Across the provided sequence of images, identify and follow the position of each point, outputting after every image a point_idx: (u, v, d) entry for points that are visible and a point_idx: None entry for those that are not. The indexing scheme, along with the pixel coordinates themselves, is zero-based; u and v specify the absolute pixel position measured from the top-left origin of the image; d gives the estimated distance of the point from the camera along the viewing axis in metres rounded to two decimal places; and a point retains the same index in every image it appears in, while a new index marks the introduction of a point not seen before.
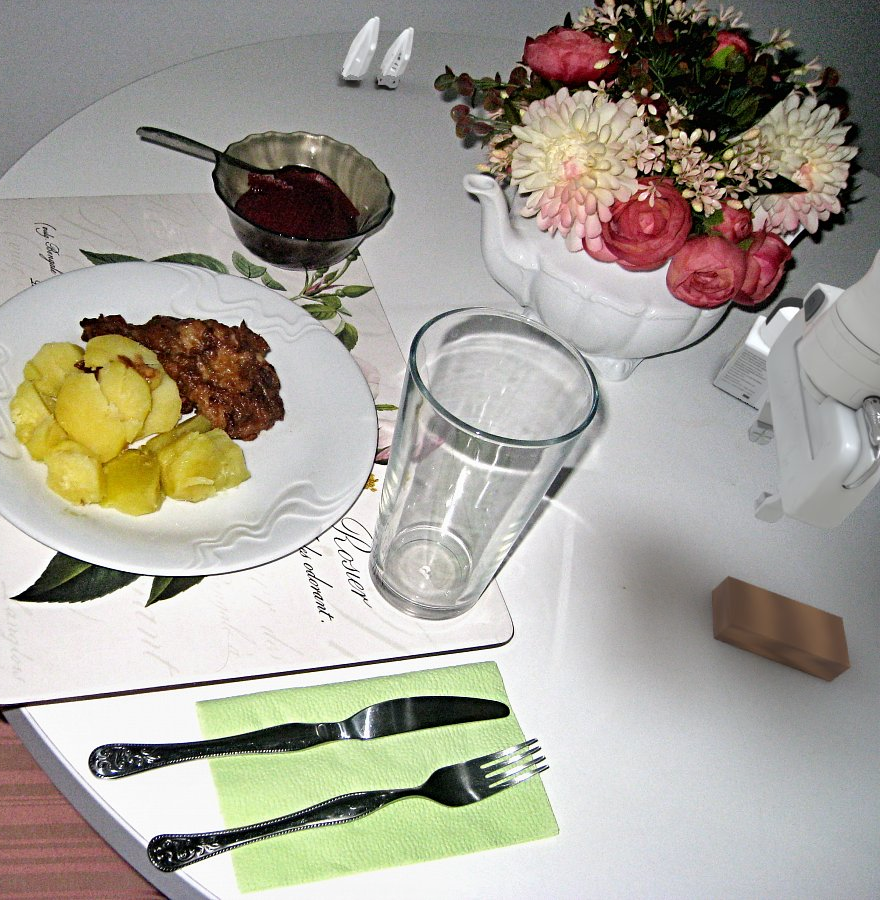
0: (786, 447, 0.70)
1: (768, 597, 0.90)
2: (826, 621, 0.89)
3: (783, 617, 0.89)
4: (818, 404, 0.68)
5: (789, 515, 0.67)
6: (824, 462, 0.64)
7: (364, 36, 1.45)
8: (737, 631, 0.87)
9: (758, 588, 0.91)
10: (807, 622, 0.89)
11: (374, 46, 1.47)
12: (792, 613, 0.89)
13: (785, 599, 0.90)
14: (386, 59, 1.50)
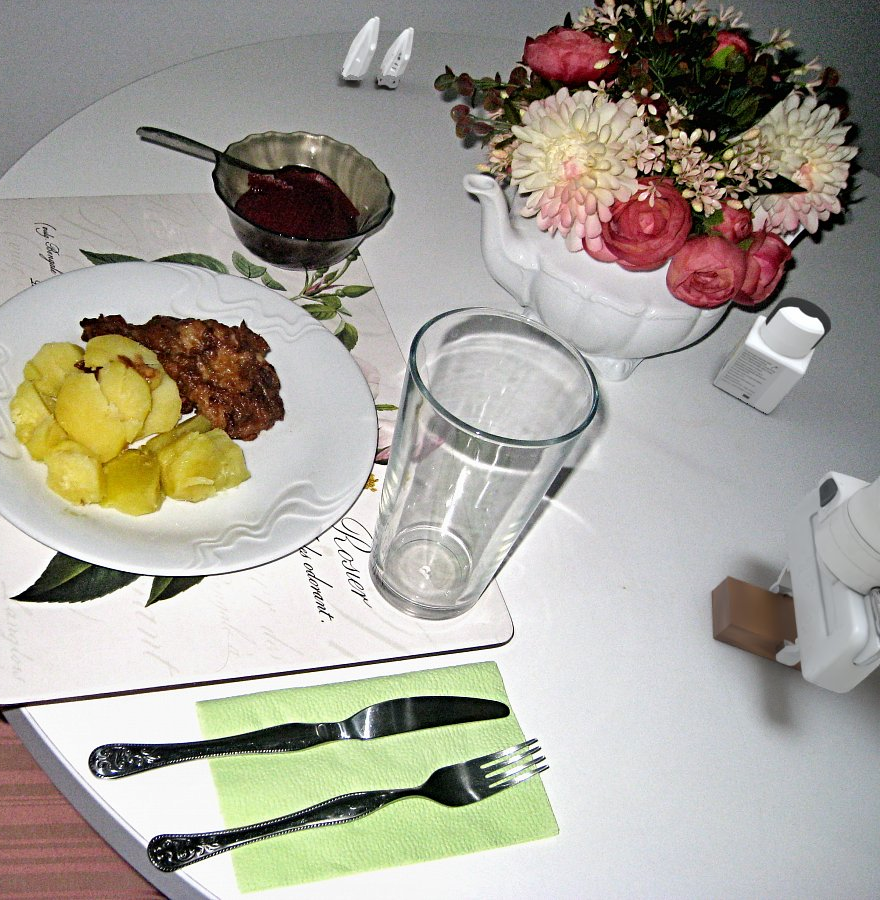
0: (804, 616, 0.83)
1: (768, 597, 0.90)
2: None
3: (782, 617, 0.89)
4: (832, 584, 0.80)
5: (807, 680, 0.79)
6: (838, 642, 0.76)
7: (364, 36, 1.45)
8: (736, 631, 0.87)
9: (758, 588, 0.91)
10: None
11: (374, 46, 1.47)
12: (792, 613, 0.89)
13: (784, 600, 0.90)
14: (386, 59, 1.50)
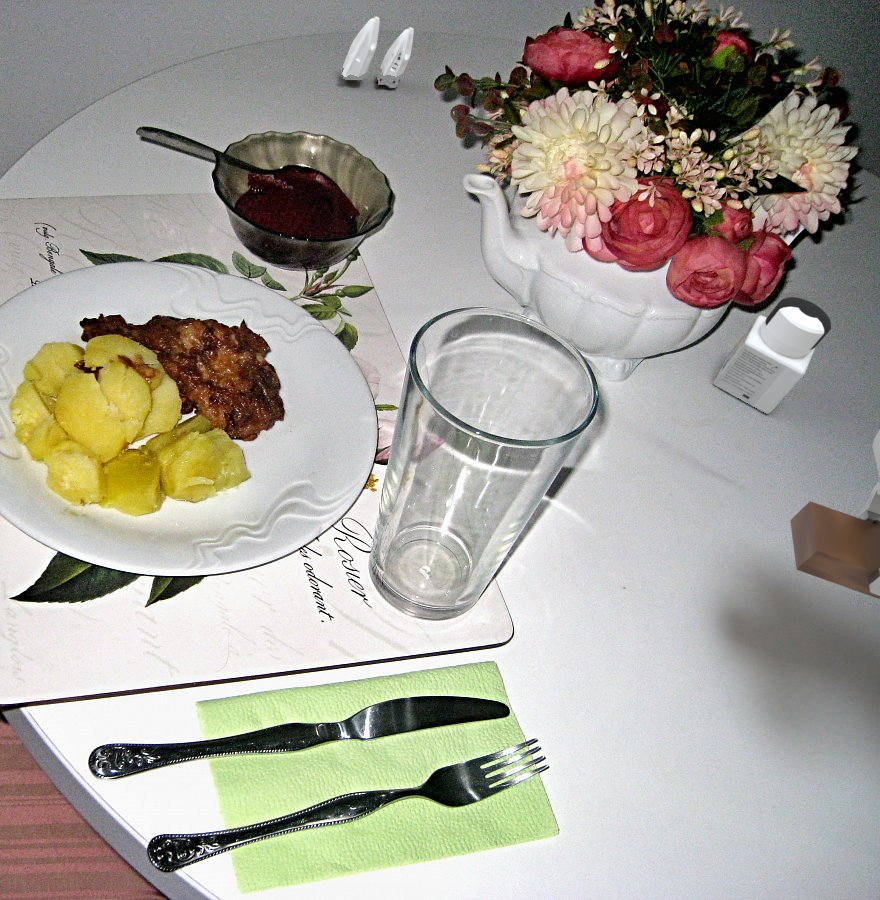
0: None
1: (856, 524, 0.80)
2: None
3: (874, 545, 0.79)
4: None
5: None
6: None
7: (364, 36, 1.45)
8: (823, 560, 0.78)
9: (844, 514, 0.81)
10: None
11: (374, 46, 1.47)
12: None
13: (874, 527, 0.81)
14: (386, 59, 1.50)
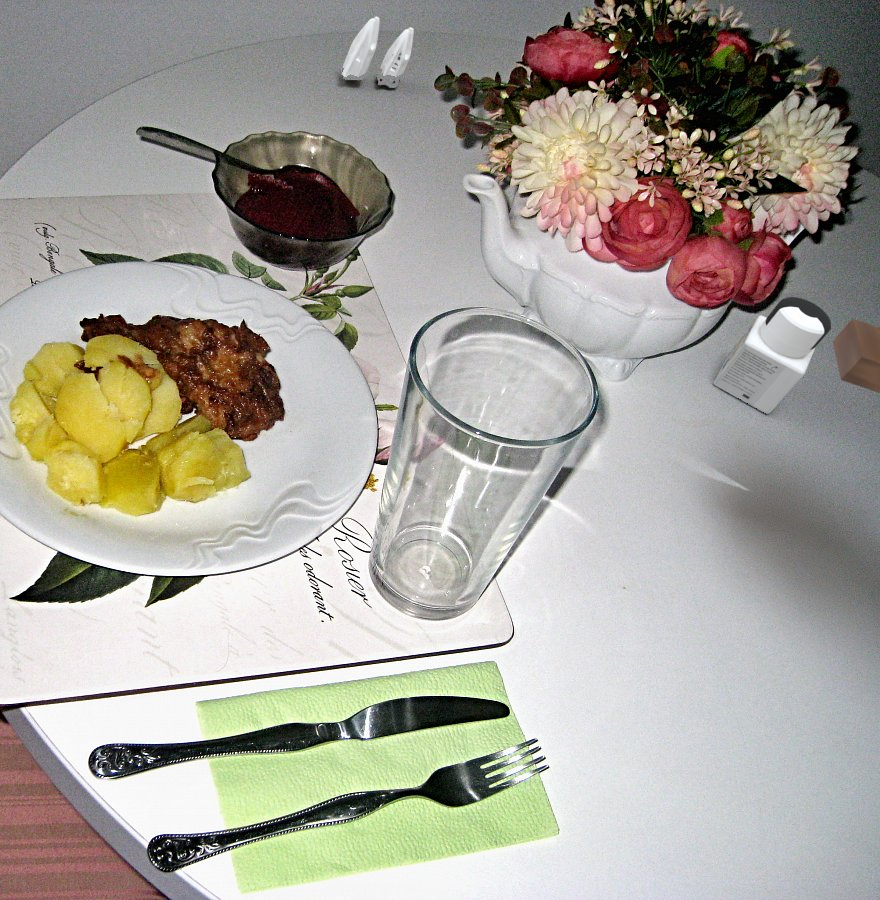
0: None
1: None
2: None
3: None
4: None
5: None
6: None
7: (364, 36, 1.45)
8: (868, 366, 0.82)
9: None
10: None
11: (374, 46, 1.47)
12: None
13: None
14: (386, 59, 1.50)
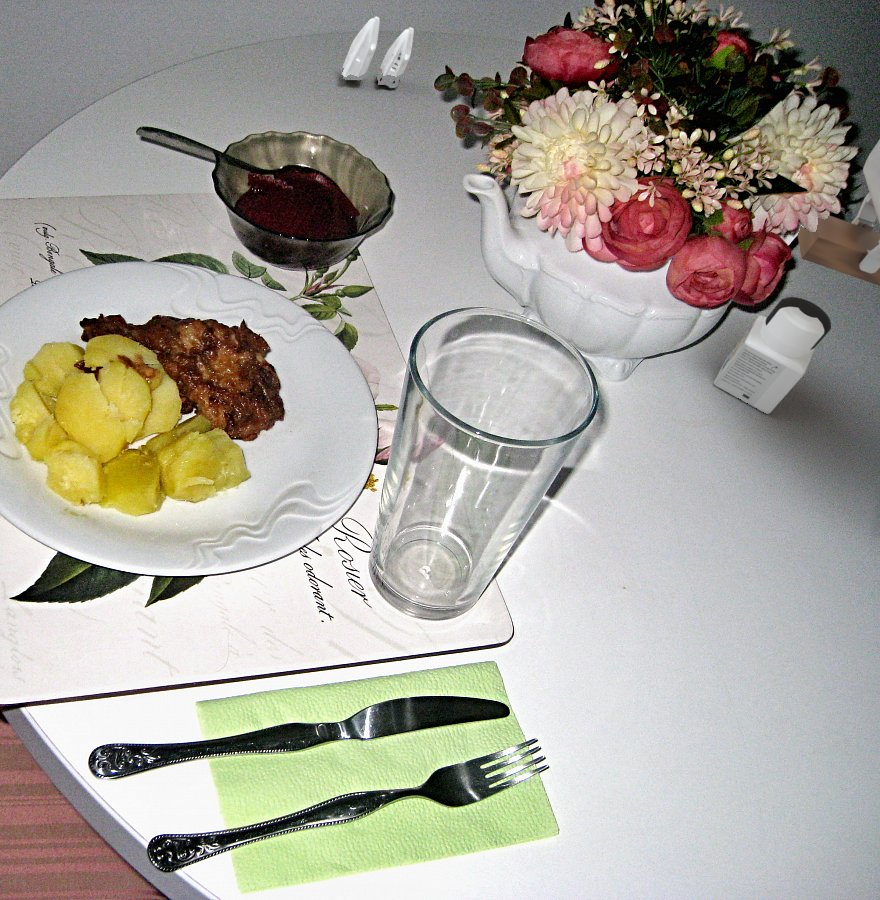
0: None
1: (849, 226, 1.02)
2: None
3: (863, 238, 1.00)
4: None
5: None
6: None
7: (364, 36, 1.45)
8: (823, 245, 0.99)
9: (840, 220, 1.02)
10: None
11: (374, 46, 1.47)
12: (871, 237, 1.01)
13: (863, 229, 1.02)
14: (386, 59, 1.50)
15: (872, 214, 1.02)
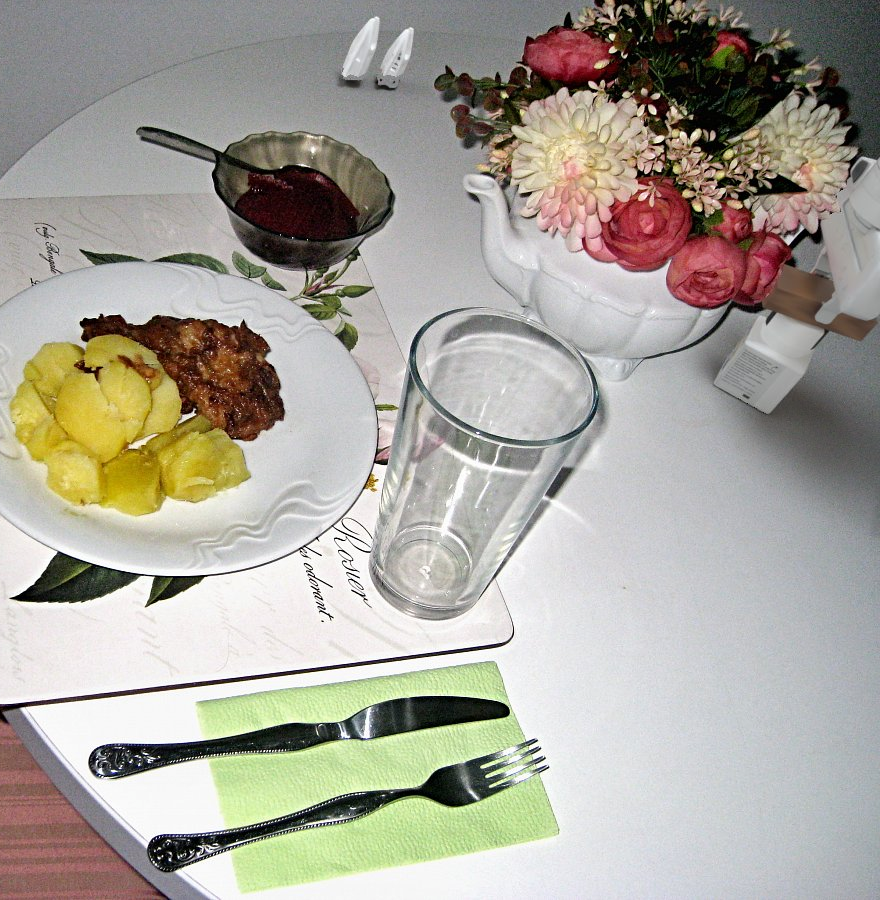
0: (840, 269, 1.00)
1: (808, 276, 1.07)
2: None
3: (820, 288, 1.06)
4: (863, 235, 0.98)
5: (844, 310, 0.97)
6: (870, 268, 0.94)
7: (364, 36, 1.45)
8: (782, 296, 1.05)
9: (799, 270, 1.08)
10: None
11: (374, 46, 1.47)
12: (828, 287, 1.06)
13: (821, 279, 1.07)
14: (386, 59, 1.50)
15: (828, 265, 1.08)
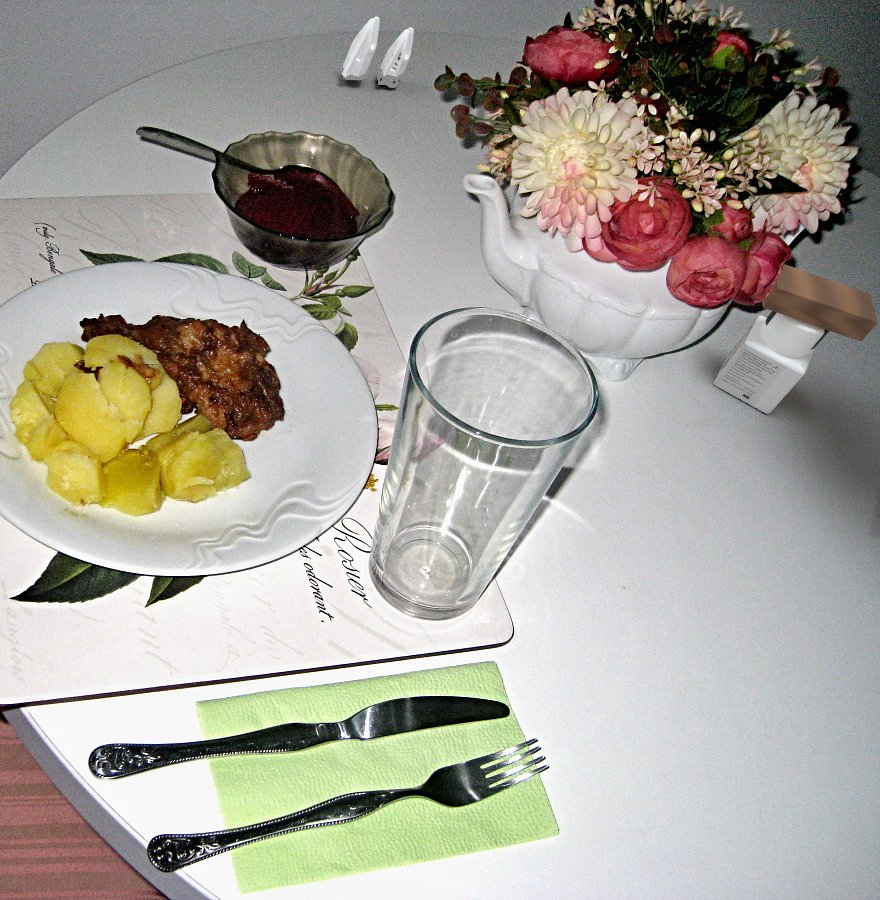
0: None
1: (807, 276, 1.07)
2: (857, 294, 1.07)
3: (820, 288, 1.06)
4: None
5: None
6: None
7: (364, 36, 1.45)
8: (782, 296, 1.05)
9: (799, 270, 1.08)
10: (840, 293, 1.06)
11: (374, 46, 1.47)
12: (828, 287, 1.06)
13: (821, 279, 1.07)
14: (386, 59, 1.50)
15: None
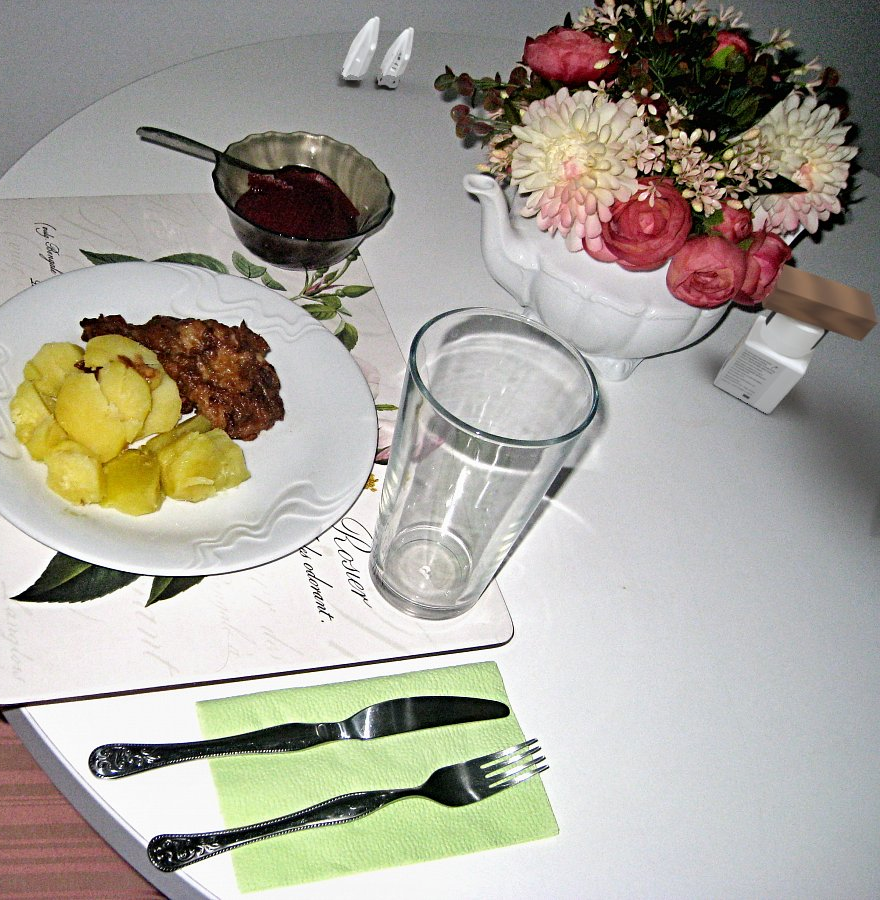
0: None
1: (807, 276, 1.07)
2: (857, 294, 1.07)
3: (820, 288, 1.06)
4: None
5: None
6: None
7: (364, 36, 1.45)
8: (782, 296, 1.05)
9: (799, 270, 1.08)
10: (840, 293, 1.06)
11: (374, 46, 1.47)
12: (828, 287, 1.06)
13: (821, 278, 1.07)
14: (386, 59, 1.50)
15: None
